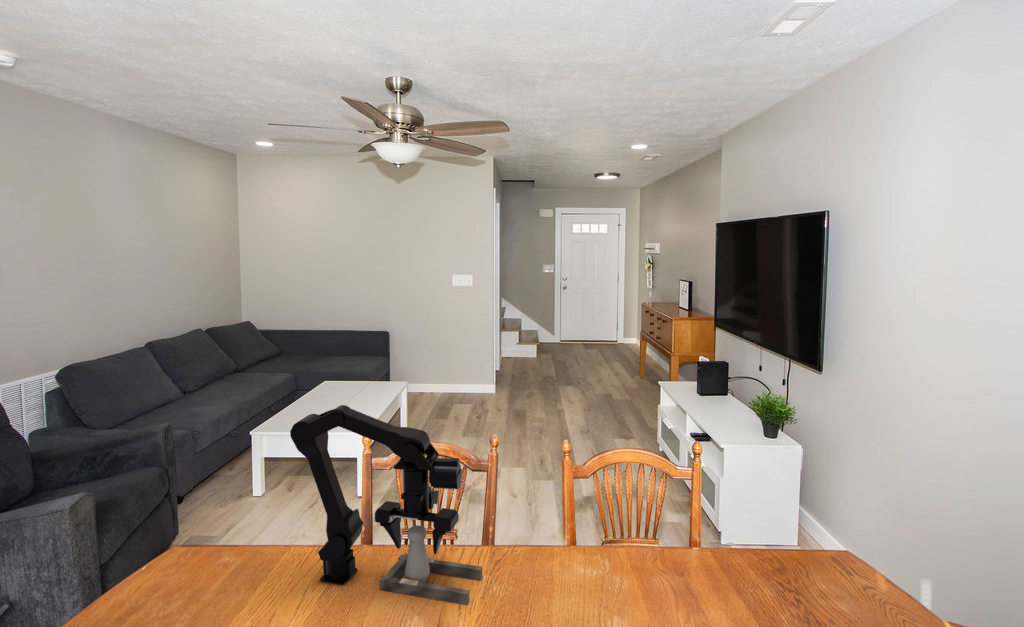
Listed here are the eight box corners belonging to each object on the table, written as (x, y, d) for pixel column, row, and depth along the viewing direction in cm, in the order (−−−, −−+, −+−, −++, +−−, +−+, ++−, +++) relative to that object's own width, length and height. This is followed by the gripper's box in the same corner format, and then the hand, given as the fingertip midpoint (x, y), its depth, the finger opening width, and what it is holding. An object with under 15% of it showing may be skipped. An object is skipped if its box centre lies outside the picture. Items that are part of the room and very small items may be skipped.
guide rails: (379, 590, 130) (379, 577, 130) (401, 564, 141) (401, 552, 140) (466, 604, 125) (466, 592, 124) (482, 576, 135) (482, 564, 135)
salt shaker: (424, 589, 130) (423, 535, 129) (401, 586, 131) (399, 533, 130) (433, 575, 136) (432, 523, 134) (411, 572, 137) (409, 521, 136)
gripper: (466, 476, 136) (467, 538, 138) (394, 469, 141) (396, 529, 143) (449, 496, 126) (450, 563, 127) (372, 487, 130) (374, 552, 132)
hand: (417, 550), depth 133 cm, fingers open, 9 cm apart
